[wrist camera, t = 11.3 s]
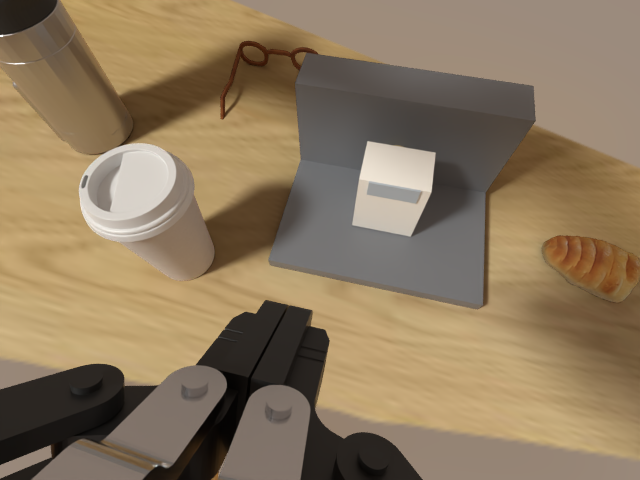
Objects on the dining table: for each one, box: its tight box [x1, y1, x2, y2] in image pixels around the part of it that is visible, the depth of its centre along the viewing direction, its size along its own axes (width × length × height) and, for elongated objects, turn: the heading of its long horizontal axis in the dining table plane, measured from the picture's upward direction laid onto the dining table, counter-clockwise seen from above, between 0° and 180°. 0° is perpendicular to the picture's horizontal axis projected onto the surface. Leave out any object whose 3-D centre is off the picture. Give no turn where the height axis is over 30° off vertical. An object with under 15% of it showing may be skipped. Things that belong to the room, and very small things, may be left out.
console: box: [269, 53, 536, 309], centre depth 40 cm, size 24×20×14 cm
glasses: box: [220, 41, 318, 119], centre depth 54 cm, size 13×13×5 cm
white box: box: [352, 141, 436, 237], centre depth 40 cm, size 7×5×9 cm
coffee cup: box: [79, 143, 215, 281], centre depth 37 cm, size 10×10×15 cm
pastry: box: [542, 235, 640, 303], centre depth 41 cm, size 9×7×4 cm
